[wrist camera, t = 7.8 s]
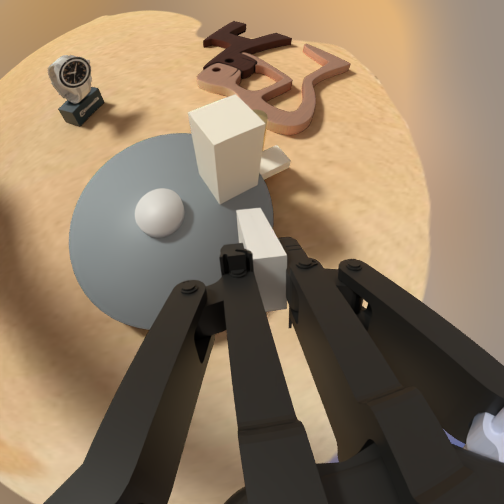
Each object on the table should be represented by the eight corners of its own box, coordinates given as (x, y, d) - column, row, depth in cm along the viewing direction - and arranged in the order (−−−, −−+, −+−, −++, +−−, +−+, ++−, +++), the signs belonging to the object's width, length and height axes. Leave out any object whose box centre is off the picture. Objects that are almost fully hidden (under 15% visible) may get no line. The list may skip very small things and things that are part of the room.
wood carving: (233, 28, 42) (143, 77, 35) (234, 20, 40) (140, 67, 33) (359, 78, 37) (291, 145, 31) (362, 69, 35) (294, 134, 29)
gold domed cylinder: (240, 165, 29) (241, 119, 22) (247, 153, 29) (251, 107, 23) (257, 171, 28) (262, 126, 22) (264, 159, 29) (271, 113, 22)
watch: (87, 129, 30) (57, 73, 20) (60, 120, 31) (33, 72, 21) (112, 103, 32) (90, 47, 22) (83, 97, 33) (61, 49, 22)
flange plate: (121, 370, 20) (61, 379, 11) (59, 199, 25) (15, 154, 16) (342, 235, 25) (387, 183, 16) (233, 106, 30) (233, 44, 21)
